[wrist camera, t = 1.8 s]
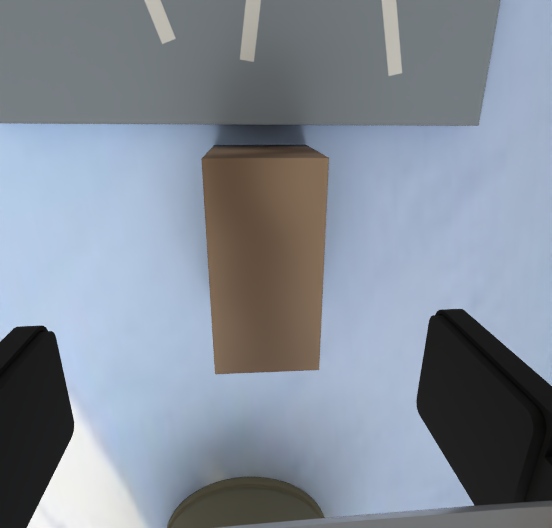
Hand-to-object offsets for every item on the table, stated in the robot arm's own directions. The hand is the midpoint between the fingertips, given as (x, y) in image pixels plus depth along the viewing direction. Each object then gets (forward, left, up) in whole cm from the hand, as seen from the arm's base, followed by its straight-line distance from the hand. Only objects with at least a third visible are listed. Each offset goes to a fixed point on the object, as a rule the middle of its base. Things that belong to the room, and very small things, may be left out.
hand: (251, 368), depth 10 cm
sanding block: (-1, 0, -12) cm, 12 cm away
